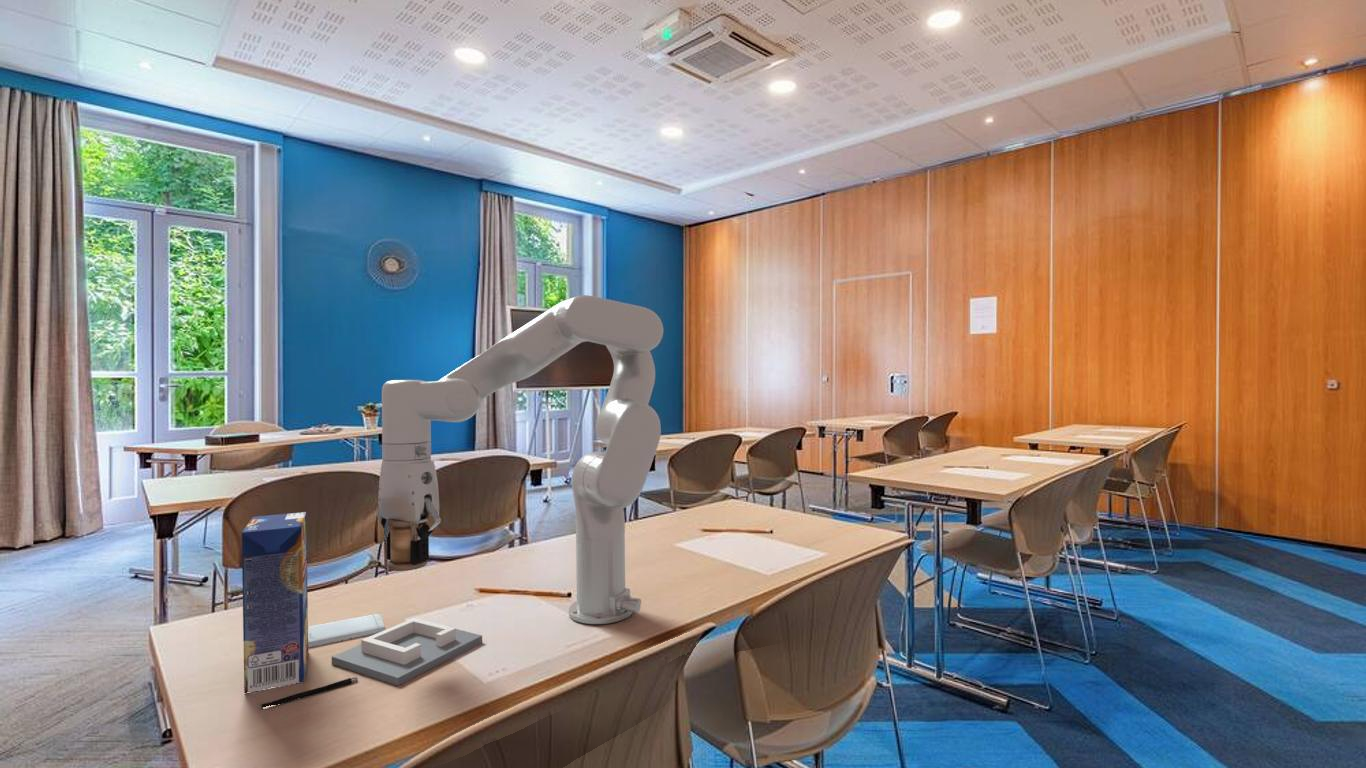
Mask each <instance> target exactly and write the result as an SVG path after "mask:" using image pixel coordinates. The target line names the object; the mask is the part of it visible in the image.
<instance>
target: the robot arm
mask: <svg viewBox="0 0 1366 768" xmlns="http://www.w3.org/2000/svg"><path fill="white" fill-rule="evenodd" d="M663 335H664V325H663V323H662V320H661V318H660V317H659V316H658V315H657V313H656V312H654V310H651V309H649V308H648V307H644V306H641V305H636V304H632V303H626V302H621V301H617V300H613V299H607V298H603V297H600V296H595V295H594V296H593V295H587V294H586V295H585V294H581V295H576V296H573V297H571V298H567V299H564V300H562V301H560V302H559V303H557V304H555V305H554V306H552V307H551V308H549V309H547V310H546V311H544V312H543V313H541V314H539V315H538V316H537V317H535V318H533V319H531V320H530V321H529V322H527V323H525V324H524V325H523V326H521V327H519V328H518V329H516V330H514V331H512V332H511V333H510V334H508V335H507V336H505V337H504V338H502V339H501V340H499V341H497V342H496V343H495V344H493V345H492V346H490V347H489V348H487V349H486V350H484V351H483V352H481V353H480V354H478V355H477V356H475V357H474V358H471V359H470V360H469V361H467V362H465V363H463V364H462V365H461V366H459V367H457V368H455V370H453V371H451V372H450V373H448V374H447V375H445V376H443V377H442V378H440V379H439V380H434V381H425V380H422V379H421V380H420V379H393V380H388V381H386V382H385V383H383V385H382V387H381V432H382V433H381V442H382V444H381V450H382V451H381V455H382V457H381V459H382V461H381V466H380V472H379V479H378V482H379V483H378V507H377V508H376V510H375V516H376V517H377V518H378V520H379V522H380V524H381V526H382V527H383V535H384V536H385V537H386V543H385V544H386V546H385V547H386V549H385V550H386V560H388V561H391V543H390V528H391V527H390V526H388V519H392V520H399V521H406V522H410V523H411V531H412V535H413V539H414V540H412V541H410V562H411V564H412V565H416V564H419V563H422V562H425V561H427V562H428V561H429V559H430V555H429V554H430V547H429V545H430V542H429V541H430V540H429V538H431V537H432V533H433V532H434V530H435V528H436V527H438V525H439V524H440V523H442V519H441V517H440V495H439V492H440V491H439V483H438V474H437V469H436V464H435V461H434V460H432V436H431V435H432V429H431V428H432V427H431V426H432V422H431V421H438V422H445V423H446V422H447V423H462V422H465V421H467V420H469V419H471V418H472V417H474V416H475V415H476V414H477V412H478V411H479V409H480V406H481V401H483V400H484V399H486V398H487V397H489V396H490V395H492V394H493V393H495V392H497V391H499V390H501V389H502V388H505V387H507V386H509V385H511V384H514V383H516V382H517V383H518V382H521V381H522V380H526V379H528V378H529V377H532V376H534V375H536V374H537V373H539V372H540V371H541V370H543V369H544V368H546V367H547V366H549V365H550V364H551V363H552V362H555V361H556V360H557V359H559V358H560V357H561V356H563V355H565V354H566V353H568V352H569V351H571V350H572V349H573V348H575V347H577V346H578V345H579V344H581V343H585V342H590V343H594V344H598V345H603V346H606V348H607V351H608V352H609V354H610V355H611V358H612V361H613V362H612V363H613V374H612V378H611V381H610V385H609V387H608V390H607V392H606V395H605V397H604V401H603V403H602V407H601V408H600V411H599V414H598V416H597V419H596V423H595V433H596V436H597V438H598V439H599V440H600V441H601V443H602V444H604V445H606V446H607V447H606V449H605V451H593V452H592V451H591V452H589V453H587V454H585V455H583V456H582V457H581V458H580V459H579V460H578V461H577V463H576V464H575V466H574V468H573V471H572V478H571V484H572V485H571V486H572V487H571V488H572V494H573V499H574V500H573V501H574V510H575V526H576V527H575V531H576V533H575V541H576V542H575V547H576V548H575V549H576V550H575V554H576V558H575V559H576V560H575V561H576V562H575V563H576V564H575V566H576V601H574V602H573V603H572V604H571V605H570V606H569V608H568V615H569V617H570V619H572V620H573V621H574V622H577V623H581V624H587V625H607V624H611V623H612V624H613V623H617V622H620V621H623V620H625V619H627V618H629V617H630V616H631V615H632V614H634V613H635V614H639V612H640V611H641V605H642V599H641V598H639V597H638V598H637V597H632V596H631V588H627V587H626V541H625V540H626V535H625V533H626V523H625V522H626V521H625V510H624V509H625V508H627V507H629V506H630V505H633V503H634V502H636V500H637V499H638V498H639V496H640V494H641V493H642V490H643V488H644V486H645V484H646V481H647V477H648V476H649V472H650V469H651V467H652V463H653V461H654V457H655V455H656V452H657V450H658V446H659V444H660V439H661V435H662V429H661V427H662V426H661V420H660V416H659V415H658V412H656V410H655V409H654V408H653V407H652V406H650V405H649V404H650V400H651V396H652V393H653V389H654V386H655V382H656V366H655V363H654V359H653V356H652V353H651V351H652V350H654V349H655V348H657V346H659V344H660V343H661V340H662V339H663ZM420 516H421V518H422V519H421V518H420ZM420 519H421V520H420ZM421 523H423V524H422V527H421V529H420V530H419V527H418V524H421Z"/></svg>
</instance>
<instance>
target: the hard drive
mask: <svg viewBox="0 0 1366 768" xmlns="http://www.w3.org/2000/svg"><path fill="white" fill-rule="evenodd" d="M384 630H386V625H385V623H384V620H383V618H382V616H381V614H380V613H379V612H378V613H375V614H369V615H364V616H358V617H357V616H356V617H352V618H347V619H342V620H336V621H331V622H326V623H320V624H315V625H308V647H309V648H313V647H319V646H323V645H327V644H328V645H329V644H331V643H332V644H333V643H336V642H337V641H338V642H342V641H341V640H343V641H347V640H351V639H350V638H352V639H356V637H357V638H361V637H366V636H372V635H374V634H377V633H379V632H382V631H384Z"/></svg>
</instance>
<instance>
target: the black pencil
mask: <svg viewBox="0 0 1366 768" xmlns="http://www.w3.org/2000/svg"><path fill="white" fill-rule="evenodd" d="M358 679H359V678H358V677H357V676H355V677H349V678H345V679H342V680H339V681H335V682H333V683H329V684H327V685H324V686H319V687H316V688H313V689H309V690H306V691H302V692H298V693H295V694H291V695H288V696H284V697H282V698H278V699H276V700H272V701H269V702H264V703H261V704H260V705H261V709H262V708H263V707H266V706H269V705H270V706H271V705H278V704H281V705H283V704H282V703H284V704H287V703H290V702H292V700H293V701H296V700H295V699H297V700H299V699H298V698H301V699H304V698H308V697H311V696H312V697H313V696H315V695H319V694H323V693H325V692H328V691H332V690H335V689H337V688H339V687H343V686H344V687H345V686H348V685H352V684H354V683H358ZM289 701H290V702H289ZM286 702H287V703H286ZM278 706H279V705H278Z"/></svg>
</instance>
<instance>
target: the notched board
mask: <svg viewBox="0 0 1366 768" xmlns="http://www.w3.org/2000/svg"><path fill="white" fill-rule="evenodd" d="M482 643H483V635H482V634H477V633H473V632H469V631H466V630H461V629H457V628H456V627H453V626H452V627H451V626H448V625H445V624H441V623H437V622H432V621H428V620H424V619H421V618H417V617H413V618H411V619H408V620H406V621H403V622H401V623H399V624H395V625H394V626H392V627H389V628H385V630H384V631H382V632H379V633H376V634H371V635H369V636H368V637H365V638H361V643H360V644H359V645H358V644H357V645H356V646H354V647H351V648H349V649H346V650H344V651H342V652H339V653H338V654H337V653H336V654H335V655H332V656H331V665H334V666H337V667H340V668H342V669H347V670H348V671H349V670H350V671H353V672H355V673H358V674H361V675H364V676H367V677H370V678H373V679H375V680H379V681H382V682H386V683H388V684H392V685H394V686H400V685H402V684H404V683H406V682H408V681H410V680H411V679H413V678H416V677H417V676H419V675H422V674H423V673H425V672H427V671H430V670H431V669H433V668H435V667H437V666H439V665H441V664H443V663H445V662H447V661H449V660H451V659H452V658H455V657H457V656H458V655H461V654H463V653H464V652H466V651H468V650H471V649H472V648H473V647H476V646H477V645H478V646H479V645H481V644H482Z"/></svg>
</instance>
